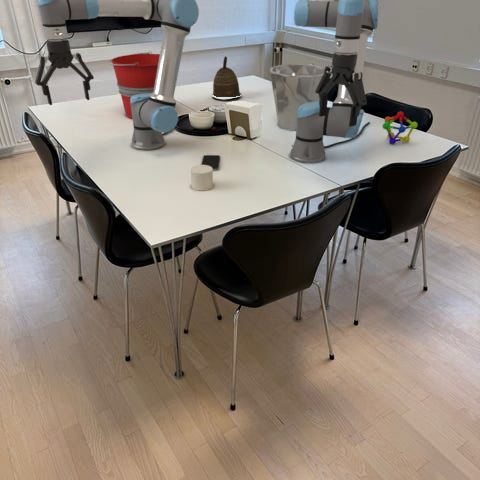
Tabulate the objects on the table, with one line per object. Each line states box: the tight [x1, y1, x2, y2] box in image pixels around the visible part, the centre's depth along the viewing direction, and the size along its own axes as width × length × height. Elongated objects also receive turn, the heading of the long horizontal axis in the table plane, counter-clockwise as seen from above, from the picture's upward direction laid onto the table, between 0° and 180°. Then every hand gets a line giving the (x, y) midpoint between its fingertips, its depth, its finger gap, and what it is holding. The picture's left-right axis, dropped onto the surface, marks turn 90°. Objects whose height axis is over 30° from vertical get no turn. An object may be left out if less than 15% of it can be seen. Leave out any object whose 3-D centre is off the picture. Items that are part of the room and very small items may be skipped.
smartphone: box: [201, 154, 221, 171], centre depth 188 cm, size 7×1×15 cm
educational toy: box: [382, 110, 418, 145], centre depth 207 cm, size 16×13×15 cm
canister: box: [190, 164, 214, 192], centre depth 167 cm, size 8×8×7 cm
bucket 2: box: [269, 63, 325, 131], centre depth 226 cm, size 30×30×28 cm
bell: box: [212, 56, 242, 97], centre depth 278 cm, size 19×26×20 cm
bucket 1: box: [107, 51, 160, 120], centre depth 242 cm, size 35×35×30 cm
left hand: (69, 101), depth 165 cm, fingers open, 13 cm apart
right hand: (337, 120), depth 149 cm, fingers open, 13 cm apart
